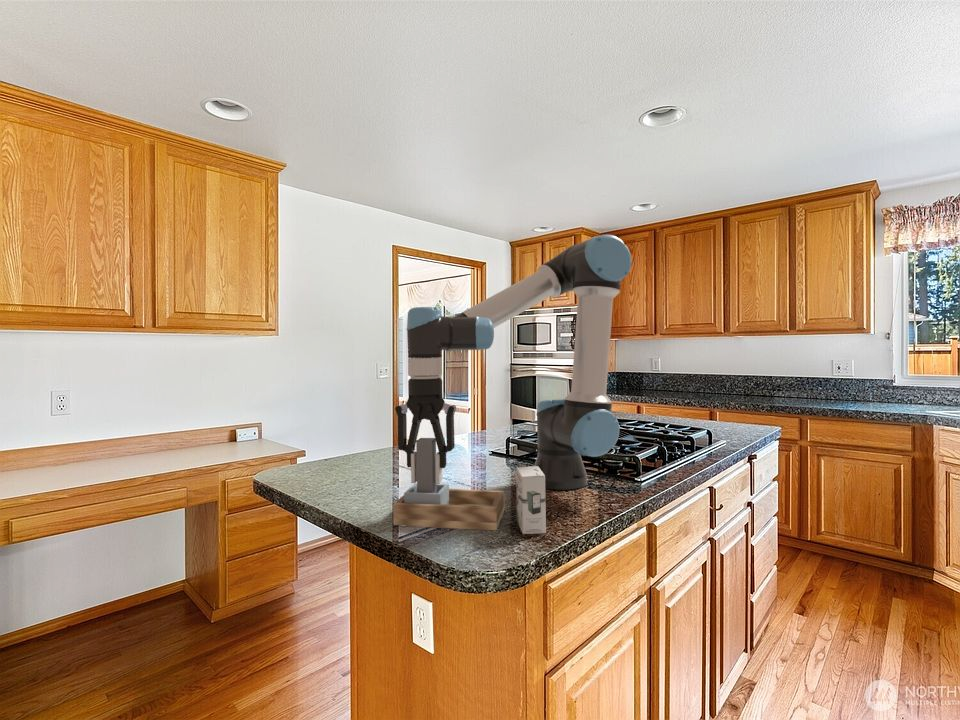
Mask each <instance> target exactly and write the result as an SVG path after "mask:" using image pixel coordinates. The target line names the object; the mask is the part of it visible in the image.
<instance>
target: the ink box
mask: <svg viewBox="0 0 960 720" xmlns="http://www.w3.org/2000/svg"><path fill="white" fill-rule="evenodd" d="M515 471H516V472H515V473H516V475H515V476H516V478H515V480H516V481H515V482H516V483H515V484H516V485H515V487H516V495H515V496H516V522H517V524H518V527H519V529H520V531H521V533H522V535H534V534H535V535H536V534H547V521H546V520H547V517H546V516H547V514H546V509H547V508H546V488H545V475H544V474H543V472H542V471H541V469H540V468H539V467H538V466H534V465H533V466H530V465H529V466H524V467H523V466H519V467H518V466H517V467H516V468H515Z"/></svg>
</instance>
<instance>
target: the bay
mask: <svg viewBox="0 0 960 720" xmlns="http://www.w3.org/2000/svg"><path fill="white" fill-rule="evenodd" d="M392 505H393V506H392V508H393V509H392V510H393V512H392V514H393V515H392V516H393V526H394V525H406V526H405V527H414V528H415V526H416V528H417V527H419V528H434V529H435V528H437V529H455V530H456V529H460V530H464V529H465V530H479V531H481V530H482V531H497V530H498V528H499V525H500V522H501V520H502V518H503V515H504V512H505V490H497V489H496V490H493V489H492V490H490V489H465V488H463V489H462V488H461V489H460V488H449V504H448V505H441V504H416V503H404V494H403V495H402V496H400V498H398V500H397V501H395V502H394V503H393V504H392Z"/></svg>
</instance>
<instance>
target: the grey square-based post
mask: <svg viewBox="0 0 960 720" xmlns="http://www.w3.org/2000/svg"><path fill="white" fill-rule="evenodd" d="M415 452H417V482H416V483H413V485H411V486H410V487H409V488H408V489H407V490H406V491H405V492H404V493H403V495H404V503H416V504H441V505H448V504H449V489H450V484H446V483H445V484H443V483H440V484H436V454H437V443H436V439H435V437H420V438H417V440H416V445H415Z"/></svg>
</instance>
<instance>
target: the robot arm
mask: <svg viewBox="0 0 960 720" xmlns="http://www.w3.org/2000/svg"><path fill="white" fill-rule="evenodd" d="M631 269H632V255H631V252H630V248H629V247H628V246H627V245H625V243H624V241H623V240H622V239H621V238H619V237H617V236H616V235H613V234H600V235H596V236H592V237H590V238H589V239H587V240H584V241H582V242H579V243H576V244H574V245H570V246H568V248H566V249H564V250H563V251H561V252H560V253H559V254H557V255H556V256H554V257H552V258H551V259H550V260H548V261H546V262H545V263H543V264H541V265H540V266H538V268H537V271H535V272H534V273H532V274H530V275H528V276H527V277H525V278H523V279H521V280H519V281H517V282H516V283H514V284H512V285H510V286H508V287H506V288H504V289H503V290H500V291H499V292H497V293H495V294H493V295H492V296H490V297H488V298H486V299H484V300H482V301H481V302H478V303H477V304H475V305H473V306H471V307H469V308H468V309H466V310H464V311H462V312H461V313H458V314H457V315H454V316H452V317H451V316H449V317H448V316H443V314H442V310H441V309H440V308H439V307H433V306H416V307H412V308H409V310H408V311H407V323H406V335H407V336H406V337H407V339H406V340H407V375H408V376H409V377H410V378H408V380H407V389H408V390H407V393H408V395H407V396H408V398H407V401H406V403H404V404H399V405H396V406H395V408H394V409H395V413H396V416H397V449H398V450H399V451H402V452H405V453H406V466H407V468H410V477H411V479H410V480H411V481H410V483H411V484H415V483H417V451H416V440H418V435H419V432H420V431H419V430H420V427H421V424H422V421H423V420H427V421H430V422H429V423H430V424H431V427H432V432H433V435H434V438H435V439H436V448H437V450H438V452H436V484H442V483H443V469H445V468H446V466H447V453H448V452H452V451H453V450H454V449H455V447H456V446H455V413H456V410H457V406H456V405H455V404H454V405H451V404H448V403H446V402H445V399H444V398H443V379H442V378H441V376H442V375H443V354H442V353H443V351H447V352H451V351H481V350H482V351H483V350H489V349H490V348H491V347H492V346H493V344H494V339H495V329H494V328H496V327H499V326H500V325H502V324H504V323H506V322H507V321H510V320H512V318H515V317H516V316H519V314H522V313H524V312H525V311H528V310H529V309H531V308H533V307H534V306H536V305H538V304H541V303H542V302H543V301H545V300H547V299H548V298H558V297H560V296H561V295H563V294H567V293H569V292H573V293H574V294H575V296H577V308H576V309H577V310H576V320H575V321H576V322H575V336H574V350H573V362H572V363H573V364H572V374H571V375H572V376H571V377H572V378H571V388H570V390H571V391H570V392H569V394H567V395H566V396H565V397H564V398H560V399H547V400H546V399H545V400H540V401H539V402H538V403H537V407H536V409H537V410H536V418H537V419H536V426H537V429H536V430H537V431H536V432H537V434H536V435H537V456H536V460H535V462H534V465H533V466H538V467H539V468H540V469H541V471H542V472H543V474H544V475H545V489H548V490H558V491H559V490H560V491H561V490H564V491H565V490H577V489H579V488H584V487H586V486H587V485H588V474H587V471H586V468H585V465H584V462H583V459H582V456H587V457H595V458H596V457H597V458H598V457H600V456H604V455H606V454H608V452H609V451H610V450H611V449H613V448H614V447H615V445H616V444H617V442H618V439H619V436H620V424H619V421H618V419H617V418H616V416H615V415H614V414H613V413H612V408H613V407H612V406H613V405H612V404H613V403H612V400H611V399H610V398H609V397H608V395H607V389H608V388H607V387H608V376H609V375H608V374H609V362H610V346H611V336H612V335H611V333H612V332H611V331H612V318H613V317H612V315H613V305H614V298H616V297H617V296H618V295H619V294H620V292H621V282H622V280H623V279H624V278H626V276H627V275H628V274H629V273H630V271H631ZM408 410H409V411H410V412H411V414H412V420H411V426H410V430H409V436H408V435H407V434H408V433H407V431H408V430H407V429H408V428H407V424H408V423H407V417H408V416H407V413H408ZM442 410H444V414H445V431H446V432H445V433H446V434H445V435H446V440H445V437H444V433H443V430H442V425H441V419H440V416H439V415H440V413H441V412H442ZM407 439H408V440H407Z"/></svg>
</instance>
